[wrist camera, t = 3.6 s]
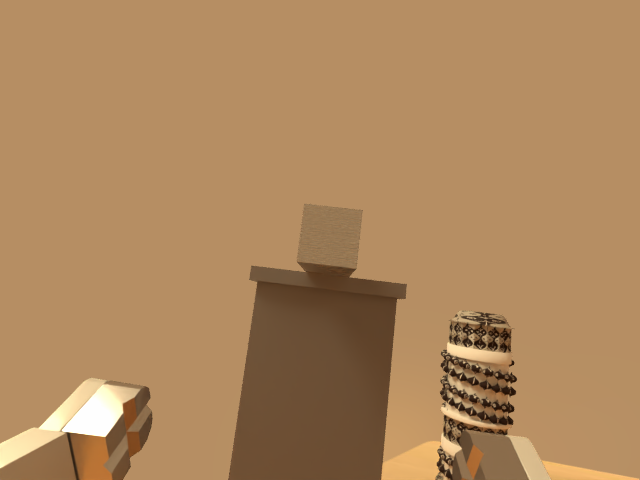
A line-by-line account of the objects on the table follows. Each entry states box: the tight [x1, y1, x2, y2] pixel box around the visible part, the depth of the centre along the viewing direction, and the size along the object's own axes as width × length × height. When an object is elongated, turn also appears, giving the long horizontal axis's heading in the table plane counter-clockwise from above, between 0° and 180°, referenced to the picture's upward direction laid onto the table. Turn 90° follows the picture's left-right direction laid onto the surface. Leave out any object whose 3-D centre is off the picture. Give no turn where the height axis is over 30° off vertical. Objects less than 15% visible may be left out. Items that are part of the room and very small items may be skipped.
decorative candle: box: [435, 311, 517, 480], centre depth 47 cm, size 9×9×25 cm
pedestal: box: [228, 266, 407, 480], centre depth 29 cm, size 11×11×26 cm
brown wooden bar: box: [297, 204, 362, 277], centre depth 28 cm, size 20×3×4 cm, turn 178°
